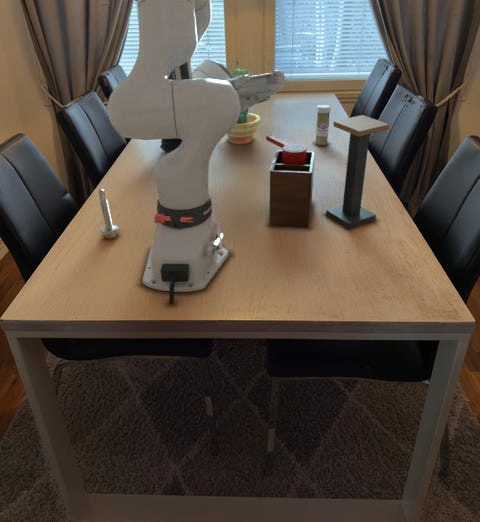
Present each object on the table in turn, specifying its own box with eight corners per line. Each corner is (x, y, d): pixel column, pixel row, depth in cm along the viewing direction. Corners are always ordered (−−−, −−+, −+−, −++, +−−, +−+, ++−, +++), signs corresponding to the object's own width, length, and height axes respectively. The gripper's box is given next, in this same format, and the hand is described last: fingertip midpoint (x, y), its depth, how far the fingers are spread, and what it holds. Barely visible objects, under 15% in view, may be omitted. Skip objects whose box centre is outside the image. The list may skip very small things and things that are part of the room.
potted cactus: (267, 143, 172) (268, 71, 159) (228, 149, 168) (225, 76, 154) (251, 131, 185) (250, 63, 171) (214, 136, 180) (209, 67, 166)
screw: (97, 237, 119) (112, 229, 122) (109, 243, 116) (124, 235, 119) (86, 189, 112) (103, 183, 115) (98, 195, 109) (115, 187, 112)
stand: (375, 219, 122) (389, 124, 108) (348, 229, 118) (359, 131, 105) (352, 206, 129) (362, 114, 115) (325, 215, 125) (333, 121, 111)
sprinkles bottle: (318, 146, 168) (320, 108, 161) (312, 142, 172) (315, 104, 164) (329, 144, 169) (332, 106, 162) (324, 140, 173) (327, 103, 165)
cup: (309, 180, 122) (311, 148, 117) (290, 186, 120) (291, 153, 115) (277, 162, 133) (277, 132, 128) (259, 167, 131) (259, 136, 126)
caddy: (308, 228, 119) (312, 173, 111) (269, 225, 121) (269, 171, 113) (311, 203, 131) (314, 151, 123) (275, 201, 133) (276, 150, 124)
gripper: (204, 87, 129) (224, 68, 116) (267, 77, 137) (292, 58, 124) (211, 110, 129) (231, 93, 117) (273, 99, 138) (298, 82, 125)
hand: (263, 75), depth 121 cm, fingers open, 8 cm apart
